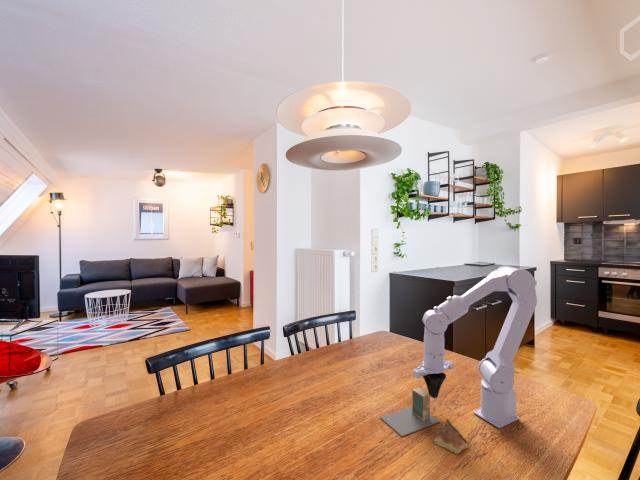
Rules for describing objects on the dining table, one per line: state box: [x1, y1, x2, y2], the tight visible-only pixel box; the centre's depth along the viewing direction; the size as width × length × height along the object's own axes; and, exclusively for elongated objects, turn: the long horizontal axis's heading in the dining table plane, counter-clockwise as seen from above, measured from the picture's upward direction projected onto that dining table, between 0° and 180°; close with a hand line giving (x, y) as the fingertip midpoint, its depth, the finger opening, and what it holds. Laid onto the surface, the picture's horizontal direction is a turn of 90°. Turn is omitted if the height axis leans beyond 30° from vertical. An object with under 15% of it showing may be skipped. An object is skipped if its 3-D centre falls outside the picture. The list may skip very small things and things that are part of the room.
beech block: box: [411, 386, 431, 421], centre depth 88 cm, size 2×4×7 cm, turn 27°
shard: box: [433, 418, 471, 454], centre depth 79 cm, size 11×8×2 cm
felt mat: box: [380, 405, 441, 438], centre depth 87 cm, size 14×9×1 cm, turn 117°
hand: (433, 396), depth 91 cm, fingers closed
